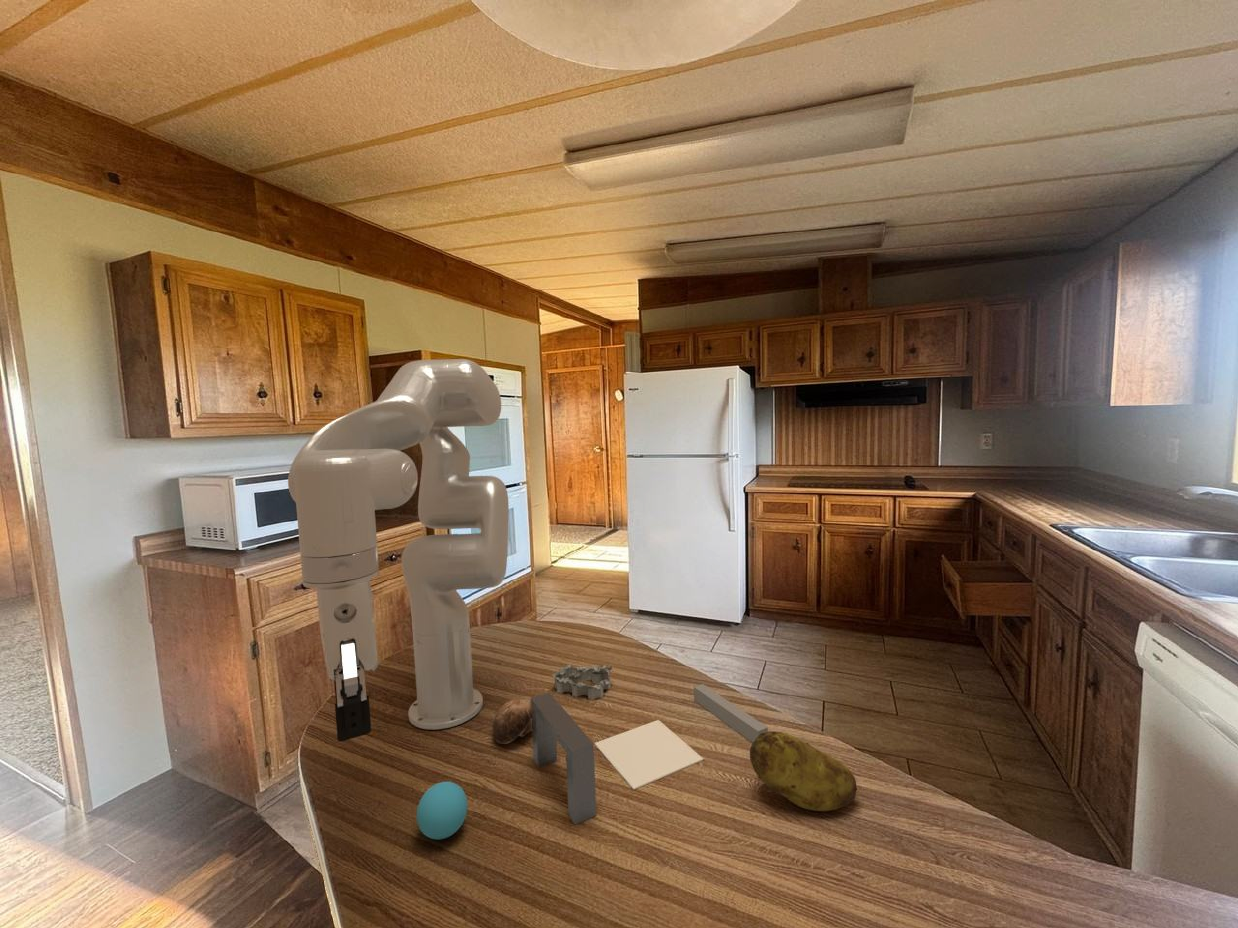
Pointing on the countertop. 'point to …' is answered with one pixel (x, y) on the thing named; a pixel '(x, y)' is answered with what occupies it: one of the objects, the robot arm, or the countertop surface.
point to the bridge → (579, 749)
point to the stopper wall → (729, 713)
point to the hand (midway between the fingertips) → (352, 717)
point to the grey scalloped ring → (572, 680)
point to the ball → (442, 810)
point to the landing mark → (647, 753)
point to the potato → (802, 772)
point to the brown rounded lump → (512, 720)
